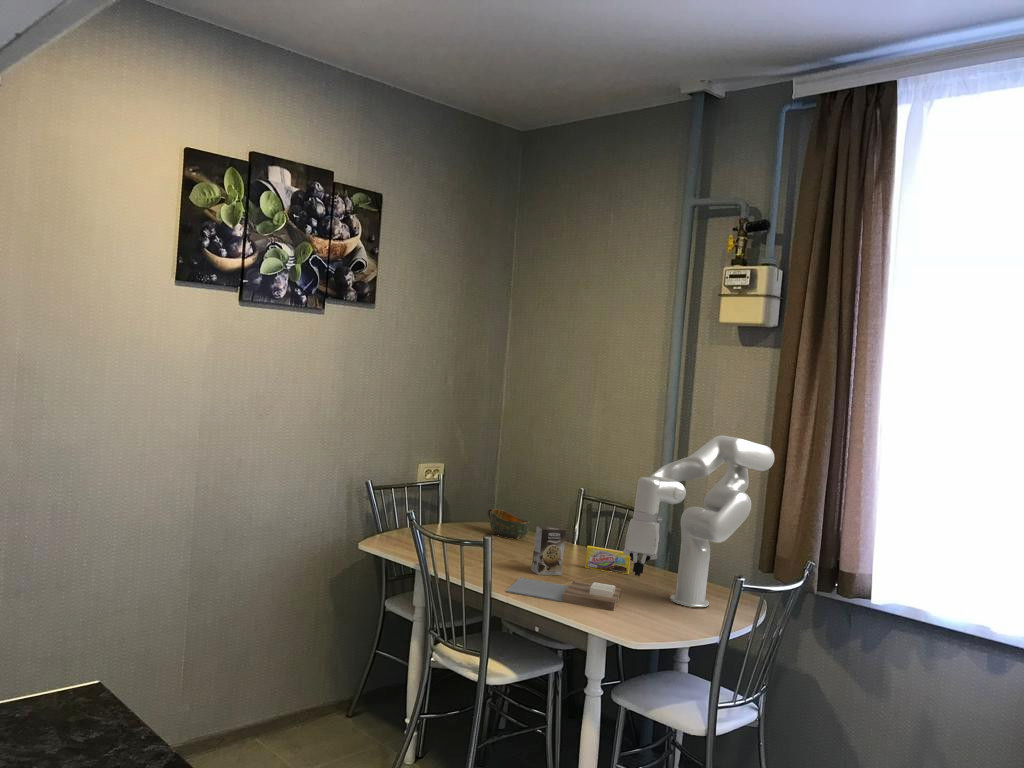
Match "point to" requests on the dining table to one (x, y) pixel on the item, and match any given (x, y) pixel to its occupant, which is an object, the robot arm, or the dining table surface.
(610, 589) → the tile
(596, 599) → the board
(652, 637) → the dining table surface
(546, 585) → the mat
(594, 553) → the candy box
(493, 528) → the green gourd bowl
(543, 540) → the cookie box
